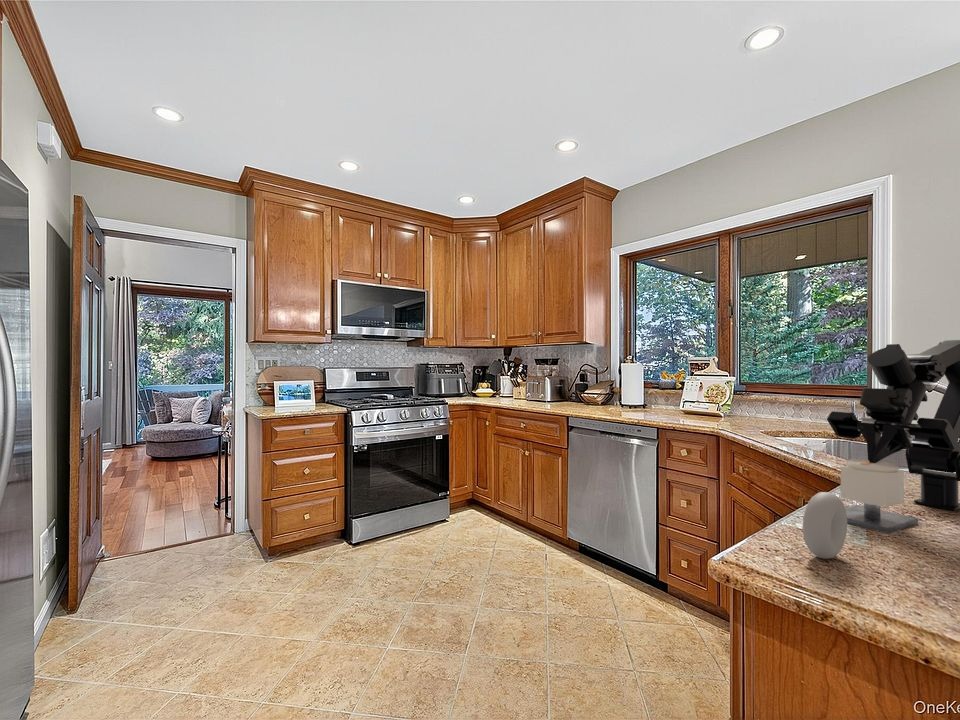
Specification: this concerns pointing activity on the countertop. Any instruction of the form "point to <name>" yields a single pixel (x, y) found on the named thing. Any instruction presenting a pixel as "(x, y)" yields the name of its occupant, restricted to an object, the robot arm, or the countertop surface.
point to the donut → (825, 525)
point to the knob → (872, 482)
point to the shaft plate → (878, 518)
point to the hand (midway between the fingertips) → (871, 461)
